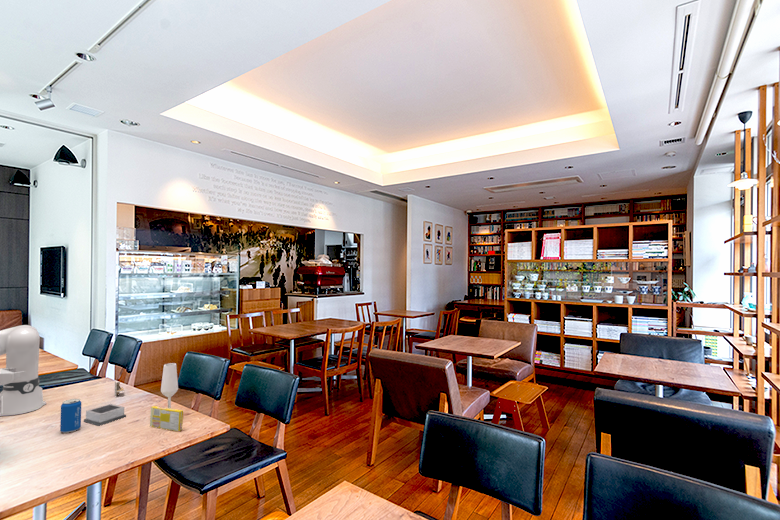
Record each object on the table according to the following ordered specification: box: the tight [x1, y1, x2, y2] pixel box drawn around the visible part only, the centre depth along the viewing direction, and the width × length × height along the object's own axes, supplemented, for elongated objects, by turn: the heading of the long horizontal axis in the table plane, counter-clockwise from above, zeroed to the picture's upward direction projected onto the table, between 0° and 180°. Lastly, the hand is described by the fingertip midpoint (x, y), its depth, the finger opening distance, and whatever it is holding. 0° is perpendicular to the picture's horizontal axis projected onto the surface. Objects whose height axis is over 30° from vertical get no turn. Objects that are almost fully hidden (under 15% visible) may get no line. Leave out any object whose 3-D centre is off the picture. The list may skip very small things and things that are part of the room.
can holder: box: [83, 403, 127, 427], centre depth 169 cm, size 11×11×4 cm
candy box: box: [149, 405, 184, 432], centre depth 160 cm, size 16×2×8 cm, turn 71°
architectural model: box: [114, 381, 125, 397], centre depth 201 cm, size 3×7×7 cm, turn 41°
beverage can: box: [59, 398, 82, 434], centre depth 157 cm, size 6×6×12 cm
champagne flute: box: [160, 362, 179, 409], centre depth 170 cm, size 7×7×24 cm
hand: (20, 371), depth 144 cm, fingers open, 8 cm apart
